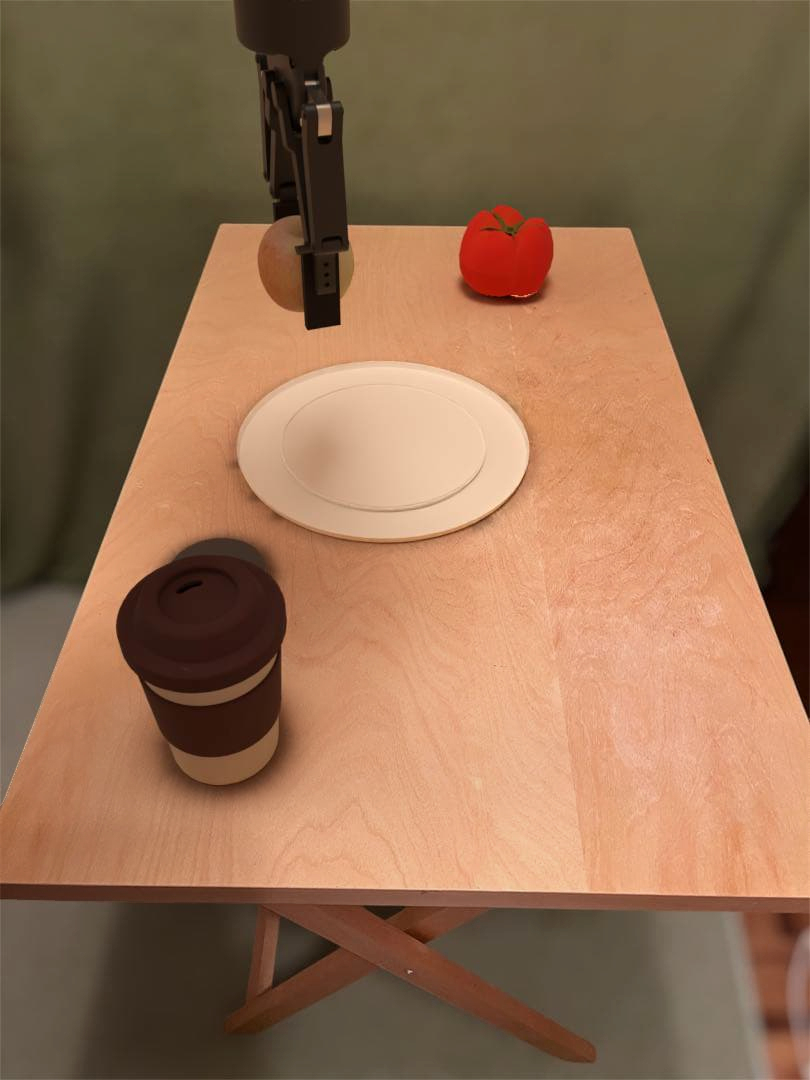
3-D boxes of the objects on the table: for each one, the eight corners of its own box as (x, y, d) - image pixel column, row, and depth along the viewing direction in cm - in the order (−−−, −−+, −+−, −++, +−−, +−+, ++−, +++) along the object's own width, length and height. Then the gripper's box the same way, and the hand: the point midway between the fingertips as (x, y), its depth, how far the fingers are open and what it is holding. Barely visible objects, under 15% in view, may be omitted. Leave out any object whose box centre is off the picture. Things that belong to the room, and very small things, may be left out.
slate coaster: (178, 624, 71) (176, 617, 71) (159, 557, 77) (158, 550, 76) (277, 598, 73) (277, 591, 73) (252, 535, 79) (252, 528, 78)
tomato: (438, 284, 113) (442, 213, 106) (511, 259, 118) (519, 190, 112) (494, 320, 106) (502, 247, 100) (569, 292, 112) (580, 221, 106)
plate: (569, 412, 93) (570, 406, 92) (453, 586, 75) (454, 580, 74) (332, 341, 102) (332, 336, 101) (176, 481, 84) (175, 475, 83)
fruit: (300, 274, 78) (295, 180, 72) (370, 299, 75) (370, 204, 69) (240, 309, 73) (230, 212, 68) (312, 338, 70) (308, 239, 65)
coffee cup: (292, 806, 60) (274, 660, 50) (140, 805, 60) (91, 658, 49) (303, 685, 67) (290, 536, 57) (167, 684, 67) (130, 534, 57)
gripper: (400, 11, 52) (394, 357, 68) (303, -60, 66) (317, 241, 82) (272, 20, 50) (297, 374, 66) (200, -55, 64) (235, 253, 80)
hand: (308, 300), depth 74 cm, fingers closed on fruit, 7 cm apart
